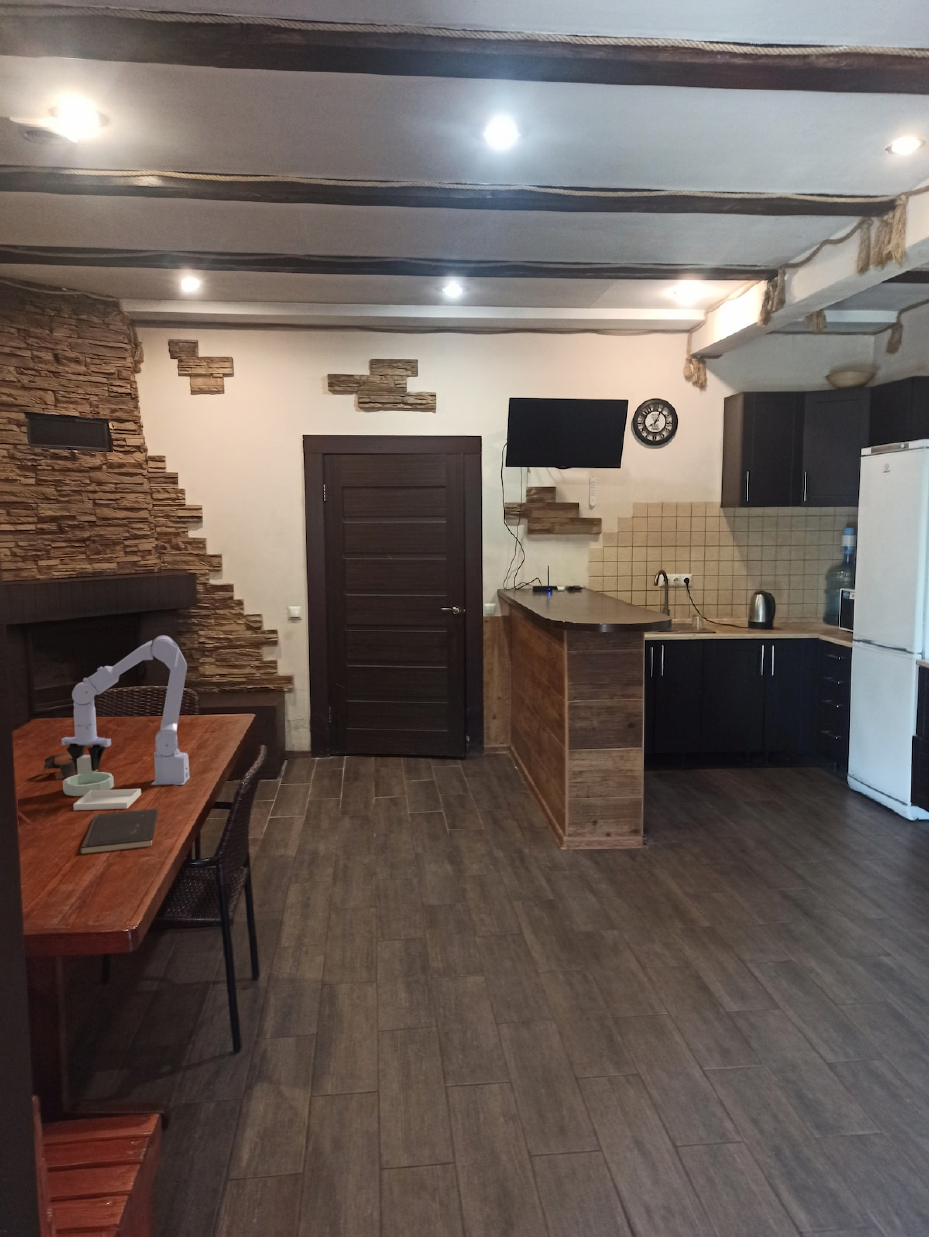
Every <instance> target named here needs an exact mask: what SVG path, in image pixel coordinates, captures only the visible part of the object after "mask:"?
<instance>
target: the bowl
mask: <svg viewBox="0 0 929 1237" xmlns="http://www.w3.org/2000/svg"><path fill="white" fill-rule="evenodd" d="M114 779H115V778H114V776H113V775H112V773H111V772H103V771H102V772H101V771H96V772H94V773H93V774H78V773H77V774H75V776H71V777H66V778H64V780H63V781H62V787H63V793H64V794H65V795H67V796H73V797H83V796H84V795H85V794H86V793H88V792H89V791H90V790H112V789H113V787H115V783H114Z"/></svg>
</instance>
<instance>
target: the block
mask: <svg viewBox="0 0 929 1237" xmlns="http://www.w3.org/2000/svg"><path fill="white" fill-rule="evenodd" d="M77 771H78V772H77V775H78V774H93V773H94V772H99V769H98V770H96V771H92V766H91V757H90V754H83V756H81V757H79V758H77Z"/></svg>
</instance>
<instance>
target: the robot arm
mask: <svg viewBox="0 0 929 1237" xmlns="http://www.w3.org/2000/svg"><path fill="white" fill-rule="evenodd" d="M154 658H156V659H158V661H161V662H162V663H164V664H165V665H166V667H167V668H168V669H169V678H168V682H167V683H168V684H167V688H166V695H165V702H164V707H163V713H162V718H161V722H160V729H159V730H158V731H157V733H156V734H155V737H154V738H155V739H154V740H155V742H154V743H155V744H154V746H155V747H154V748H155V751H153V754H154V758H153V759H154V774H155V775H154V776H155V780H153V781H152V783H151V784H150V785H152V786H155V785H157V786H158V785H159V786H160V785H174V786H182V785H183V786H184V785H185V783H186V782H188V780H189V779H190V777H191V776H190V763H189V762H190V761H189V759H190V758H189V755H188V753H187V752H181V751H180V748H178V747H179V742H178V735H177V733H178V732H177V731H178V723H179V719H180V718H179V717H180V711H181V706H182V700H183V694H184V688H185V681H186V676H187V670H188V664H187V661H186V660H185V657H184V655H183V653H182V652H181V649H180V647H179V645H178V643H176V642H175V640H174V639H172V637H170V636H168V635H163V634H162V635H159V636H158V635H157V637H155V638H154V639H153V640H150V641H147V642H146V643H145V644H142V645H141V646H139V647H138V648H136V649H135V650H134V651H132V652H130V653H129V654H128V655H127V656H125V657H124V658H123V659H121V660H120V661H118V662H117V663H115V665H113V666H110V665H105V666H100V667H98V668H97V669H96V672H95V673H93V674H92V675H90V676H88V677H83V679H82V682H79V683H77V684H76V685H75V686H74V688H73V690H72V691H71V692H72V693H71V697H72V700H73V721H74V722H73V723H74V724H73V725H74V736H65V737H63V738H61V746H66V745H67V746H68V747H66V752H69V753H70V756H71V757H72V758H73V761H74V763H75V766H76V769H77V758H79V757H81V756H83V755H84V751H85V746H87V747H88V748H87V751H88V753H89V754H88V755H90V757H91V766H92V771H96V770H98V771H99V768H100V763H101V759H102V757H103V754H104V751H105V749H106V748H107V747H110V746H112V739H111V738H105V737H100V736H98V735H97V734H98V732H97V717H96V716H97V714H96V713H97V712H96V707H95V696H96V695H98V696H99V695H101V694H102V693H104V692H105V691H106V690H107V689H109V688H111V687H112V686H114V685H115V684H116V683H117V684H118V682H119V679H120V675H122V674H123V673H125V672H126V671H128V670H129V669H131V668H133V667H134V666H136V665H138V664H139V663H140V662H142V661H152V660H154ZM89 746H91V747H89ZM96 772H97V771H96Z"/></svg>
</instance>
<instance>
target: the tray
mask: <svg viewBox="0 0 929 1237" xmlns="http://www.w3.org/2000/svg"><path fill="white" fill-rule="evenodd" d="M141 795H142V789H141V788H130V789H129V788H127V789H126V788H124V789H119V788H118V789H110V790H90V791H89V792H88V793H86V794H85V795H84V796H81V797H80V798H79V799H78V800H77V801H75V802H74V803H73V811H92V810H97V811H98V810H122V809H123V810H125V809H129V807H130V806H131V805H132V804H133V803H134V802H136V800H138V799H139V798H140V796H141Z"/></svg>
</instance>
